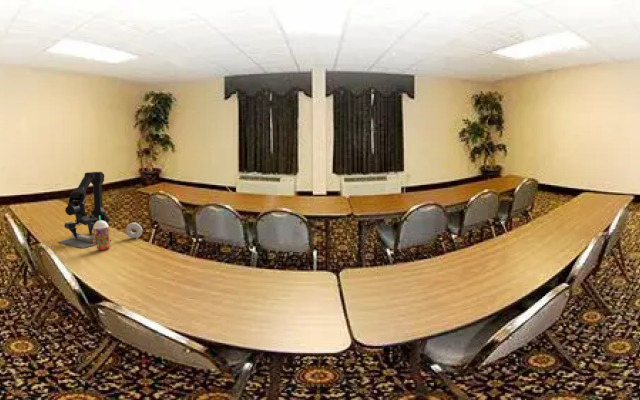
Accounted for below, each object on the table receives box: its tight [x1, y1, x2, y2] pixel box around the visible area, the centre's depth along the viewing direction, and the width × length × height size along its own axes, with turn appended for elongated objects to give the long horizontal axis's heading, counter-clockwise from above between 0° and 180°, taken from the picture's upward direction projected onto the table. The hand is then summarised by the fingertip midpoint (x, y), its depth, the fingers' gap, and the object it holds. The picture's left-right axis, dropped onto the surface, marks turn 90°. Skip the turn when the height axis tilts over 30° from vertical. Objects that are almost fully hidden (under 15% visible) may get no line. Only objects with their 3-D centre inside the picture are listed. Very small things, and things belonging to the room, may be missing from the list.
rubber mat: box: [58, 234, 112, 250], centre depth 295 cm, size 18×27×1 cm, turn 55°
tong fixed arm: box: [71, 232, 96, 242], centre depth 296 cm, size 23×4×4 cm, turn 56°
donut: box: [125, 222, 143, 239], centre depth 298 cm, size 10×4×10 cm, turn 94°
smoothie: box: [92, 216, 111, 252], centre depth 275 cm, size 8×8×20 cm
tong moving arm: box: [77, 235, 96, 243], centre depth 294 cm, size 18×2×2 cm, turn 56°
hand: (83, 236), depth 297 cm, fingers open, 9 cm apart
